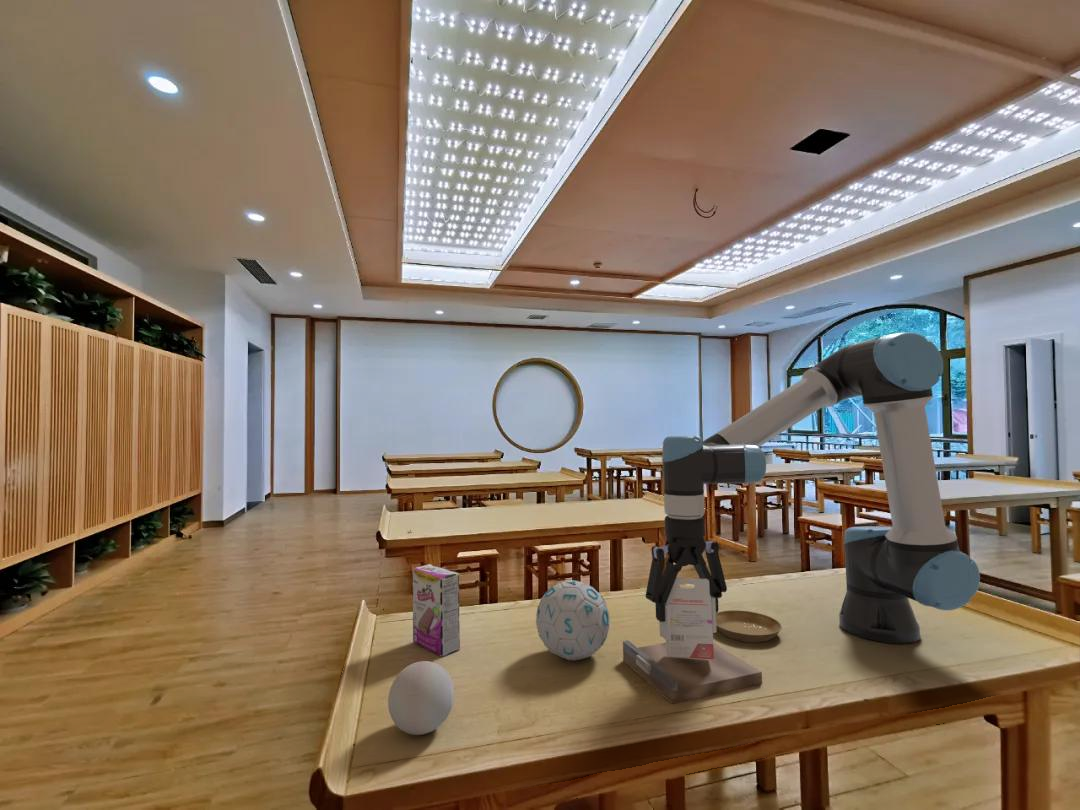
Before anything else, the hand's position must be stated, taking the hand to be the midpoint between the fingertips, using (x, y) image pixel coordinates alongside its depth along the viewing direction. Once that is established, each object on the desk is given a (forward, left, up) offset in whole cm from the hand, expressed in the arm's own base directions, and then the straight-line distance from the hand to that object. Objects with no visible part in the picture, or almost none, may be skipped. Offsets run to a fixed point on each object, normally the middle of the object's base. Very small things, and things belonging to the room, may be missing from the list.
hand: (688, 633), depth 97 cm
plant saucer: (-23, -11, -7) cm, 27 cm away
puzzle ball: (+18, -14, -7) cm, 24 cm away
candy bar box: (+44, -29, -7) cm, 53 cm away
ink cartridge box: (0, 0, -4) cm, 4 cm away
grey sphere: (+50, +1, -7) cm, 51 cm away
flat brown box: (0, 0, -7) cm, 7 cm away
